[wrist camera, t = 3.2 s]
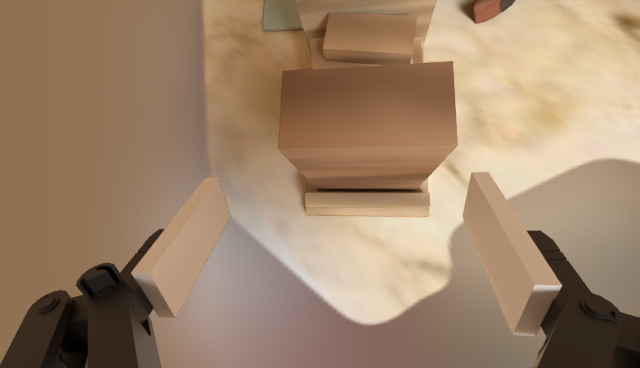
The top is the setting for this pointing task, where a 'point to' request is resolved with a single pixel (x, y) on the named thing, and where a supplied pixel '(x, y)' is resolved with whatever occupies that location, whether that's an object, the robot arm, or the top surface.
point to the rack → (356, 51)
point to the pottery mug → (489, 9)
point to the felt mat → (281, 16)
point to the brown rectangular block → (368, 124)
